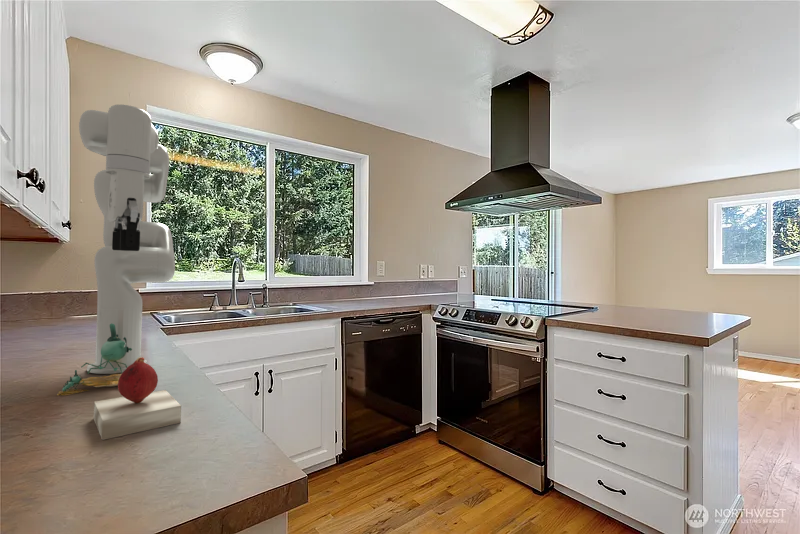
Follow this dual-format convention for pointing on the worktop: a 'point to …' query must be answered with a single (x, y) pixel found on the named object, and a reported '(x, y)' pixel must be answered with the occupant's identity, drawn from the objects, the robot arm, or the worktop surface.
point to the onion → (137, 381)
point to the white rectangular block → (135, 414)
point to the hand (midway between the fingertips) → (125, 250)
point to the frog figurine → (109, 352)
